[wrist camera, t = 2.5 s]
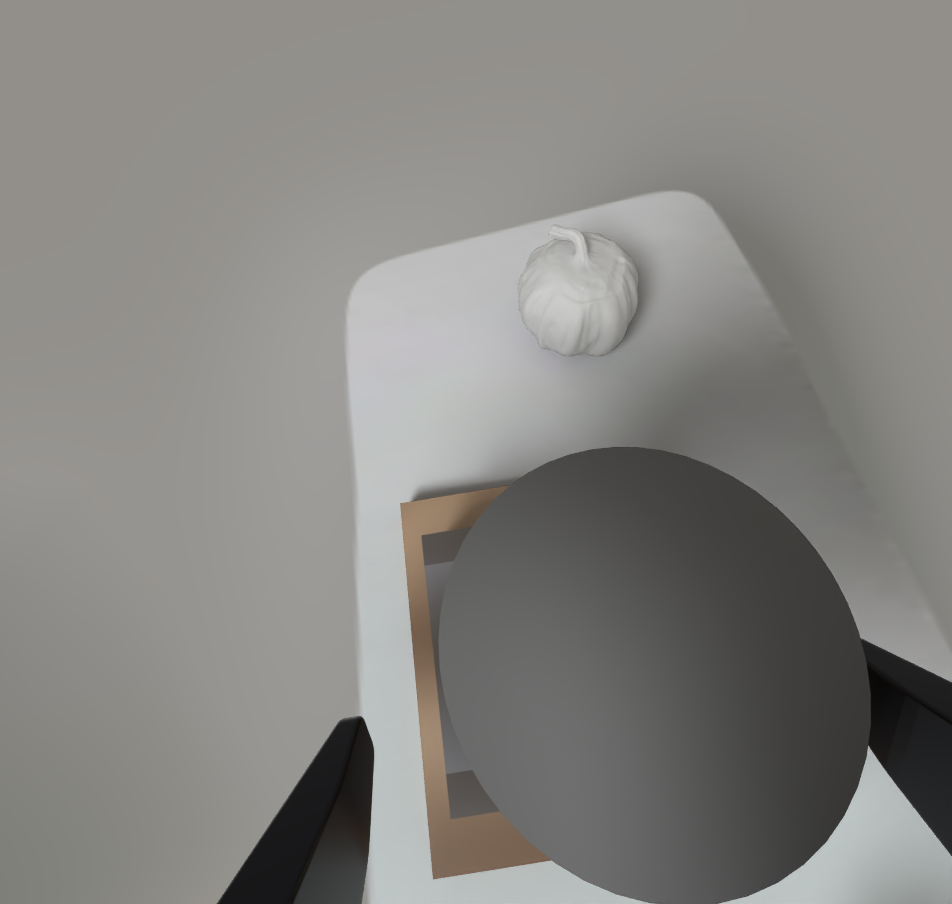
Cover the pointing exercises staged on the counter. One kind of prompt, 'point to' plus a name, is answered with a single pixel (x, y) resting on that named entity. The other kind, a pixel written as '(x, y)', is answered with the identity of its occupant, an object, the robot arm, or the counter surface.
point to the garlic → (578, 293)
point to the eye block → (445, 766)
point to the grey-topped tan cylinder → (654, 676)
